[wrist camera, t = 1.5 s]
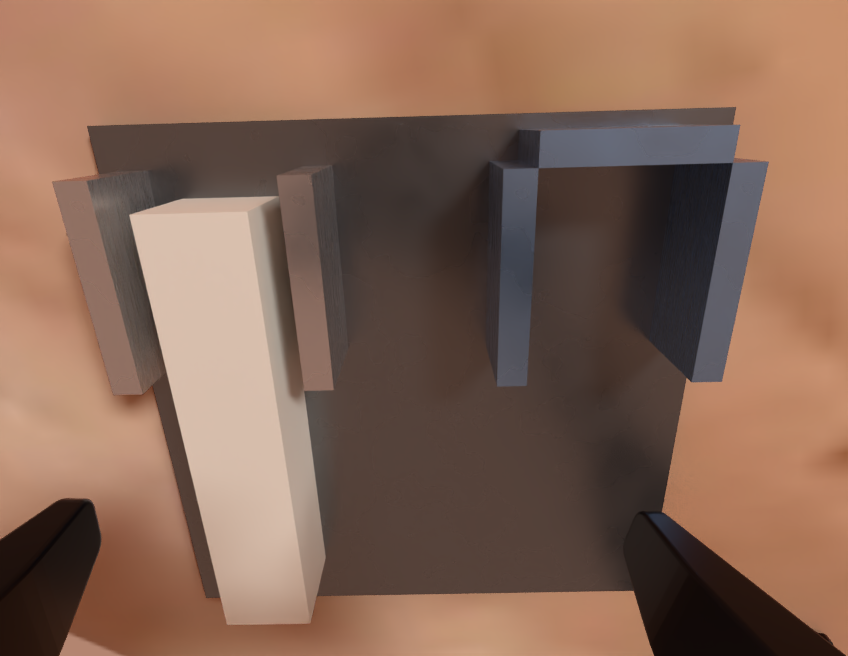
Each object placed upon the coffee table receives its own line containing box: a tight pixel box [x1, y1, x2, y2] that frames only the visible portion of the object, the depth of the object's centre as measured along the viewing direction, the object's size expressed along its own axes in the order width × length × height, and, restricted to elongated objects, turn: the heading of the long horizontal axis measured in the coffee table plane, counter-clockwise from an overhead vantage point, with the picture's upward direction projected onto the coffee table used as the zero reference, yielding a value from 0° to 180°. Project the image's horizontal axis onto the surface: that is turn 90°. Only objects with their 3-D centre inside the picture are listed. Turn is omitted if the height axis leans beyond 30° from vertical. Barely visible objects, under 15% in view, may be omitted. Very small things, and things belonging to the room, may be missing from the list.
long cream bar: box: [129, 196, 326, 625], centre depth 20 cm, size 17×4×4 cm, turn 2°
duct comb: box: [52, 107, 769, 598], centre depth 20 cm, size 22×22×4 cm
